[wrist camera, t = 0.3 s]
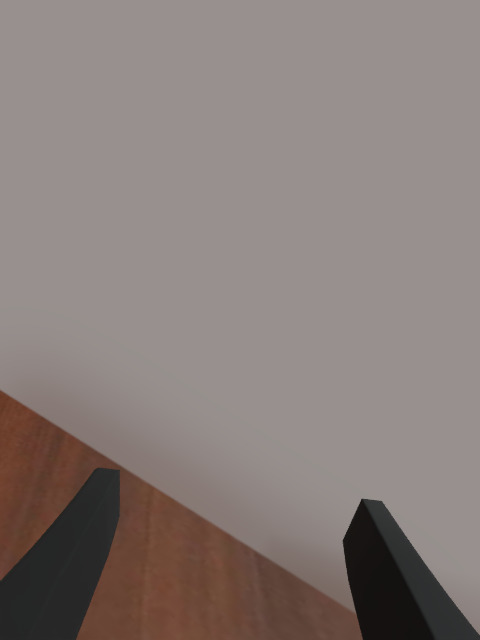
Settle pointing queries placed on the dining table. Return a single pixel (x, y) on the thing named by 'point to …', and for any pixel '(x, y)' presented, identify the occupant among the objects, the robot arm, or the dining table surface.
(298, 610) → the dining table surface
